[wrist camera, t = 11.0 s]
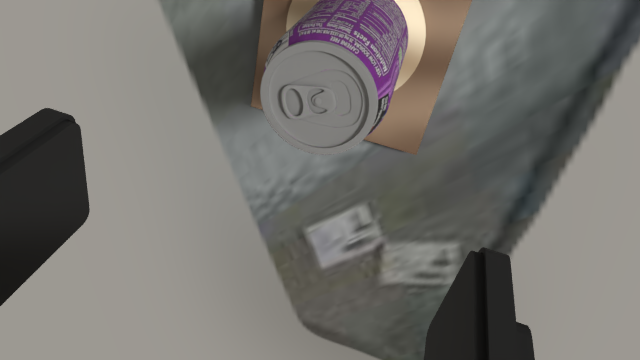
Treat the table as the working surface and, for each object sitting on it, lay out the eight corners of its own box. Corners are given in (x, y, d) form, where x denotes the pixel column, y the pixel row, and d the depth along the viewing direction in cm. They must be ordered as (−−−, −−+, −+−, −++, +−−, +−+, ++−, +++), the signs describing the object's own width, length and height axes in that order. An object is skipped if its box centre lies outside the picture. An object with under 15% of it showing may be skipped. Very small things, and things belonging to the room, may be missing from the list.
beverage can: (317, 84, 38) (266, 162, 28) (302, -13, 34) (237, 38, 24) (411, 79, 36) (391, 162, 26) (406, -25, 32) (381, 26, 22)
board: (283, -117, 32) (276, -116, 31) (493, -65, 31) (494, -62, 30) (255, 100, 42) (249, 108, 40) (417, 147, 40) (415, 157, 39)
